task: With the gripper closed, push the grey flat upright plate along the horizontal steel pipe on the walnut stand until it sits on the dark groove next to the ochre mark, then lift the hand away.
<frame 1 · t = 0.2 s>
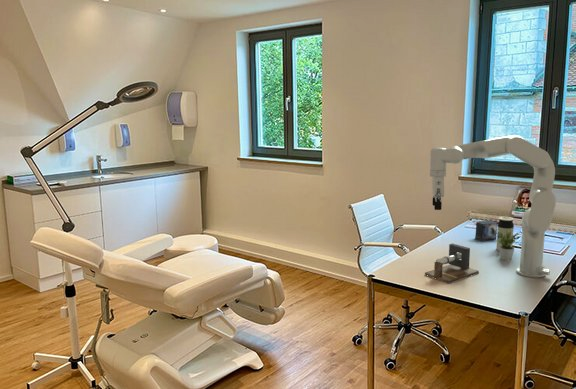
hand: (436, 207, 240), 31 cm above the table, tool pointing down, fingers open, 9 cm apart
small box: (485, 239, 292), on the table
pipe stand: (451, 274, 235), on the table
grey flat upright plate: (459, 256, 236), point 8 cm above the table, slide at 0.0 cm
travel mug: (504, 250, 270), on the table
house plant: (507, 260, 253), on the table
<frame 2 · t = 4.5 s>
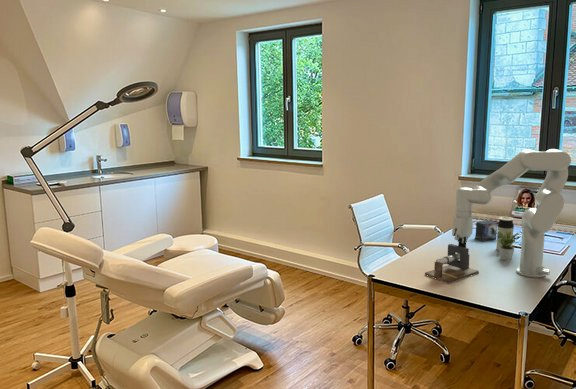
hand: (462, 250, 237), 11 cm above the table, tool pointing down, fingers closed
grey flat upright plate: (457, 256, 236), point 8 cm above the table, slide at 1.0 cm, touching gripper
everything else where it was.
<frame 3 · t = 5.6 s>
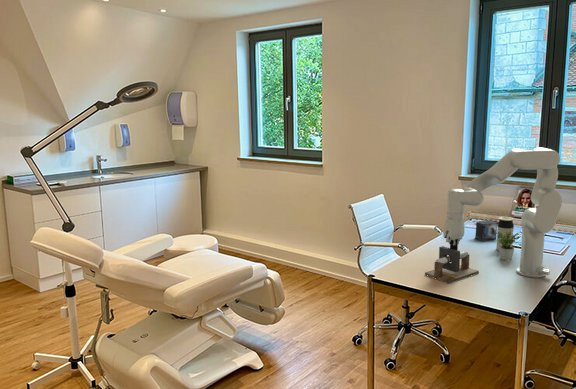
hand: (453, 252, 233), 11 cm above the table, tool pointing down, fingers closed
grey flat upright plate: (449, 259, 232), point 8 cm above the table, slide at 7.4 cm, touching gripper
everything else where it was.
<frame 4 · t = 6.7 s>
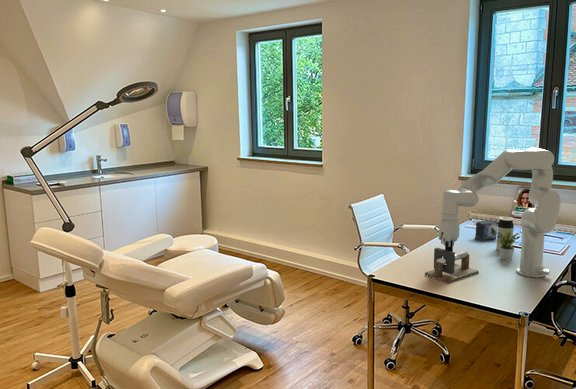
hand: (448, 254, 231), 11 cm above the table, tool pointing down, fingers closed
grey flat upright plate: (444, 260, 230), point 8 cm above the table, slide at 11.0 cm, touching gripper
everything else where it was.
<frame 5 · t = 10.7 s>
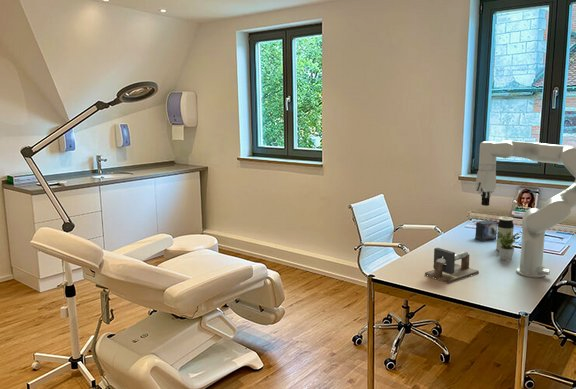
hand: (485, 205, 235), 32 cm above the table, tool pointing down, fingers closed
grey flat upright plate: (444, 260, 230), point 8 cm above the table, slide at 11.1 cm
everything else where it was.
at the end: grey flat upright plate slide at 11.1 cm; the gripper is holding nothing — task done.
